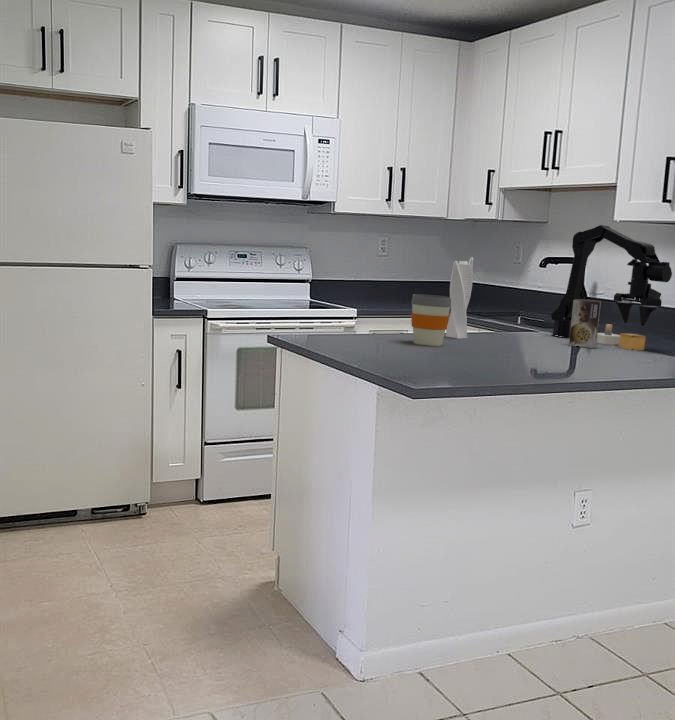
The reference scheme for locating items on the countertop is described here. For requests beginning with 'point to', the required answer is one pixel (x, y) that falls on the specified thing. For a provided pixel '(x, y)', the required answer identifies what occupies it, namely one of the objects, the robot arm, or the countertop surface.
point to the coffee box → (584, 323)
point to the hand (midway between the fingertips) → (634, 324)
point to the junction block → (608, 336)
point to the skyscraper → (459, 299)
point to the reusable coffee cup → (429, 318)
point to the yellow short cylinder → (632, 341)
